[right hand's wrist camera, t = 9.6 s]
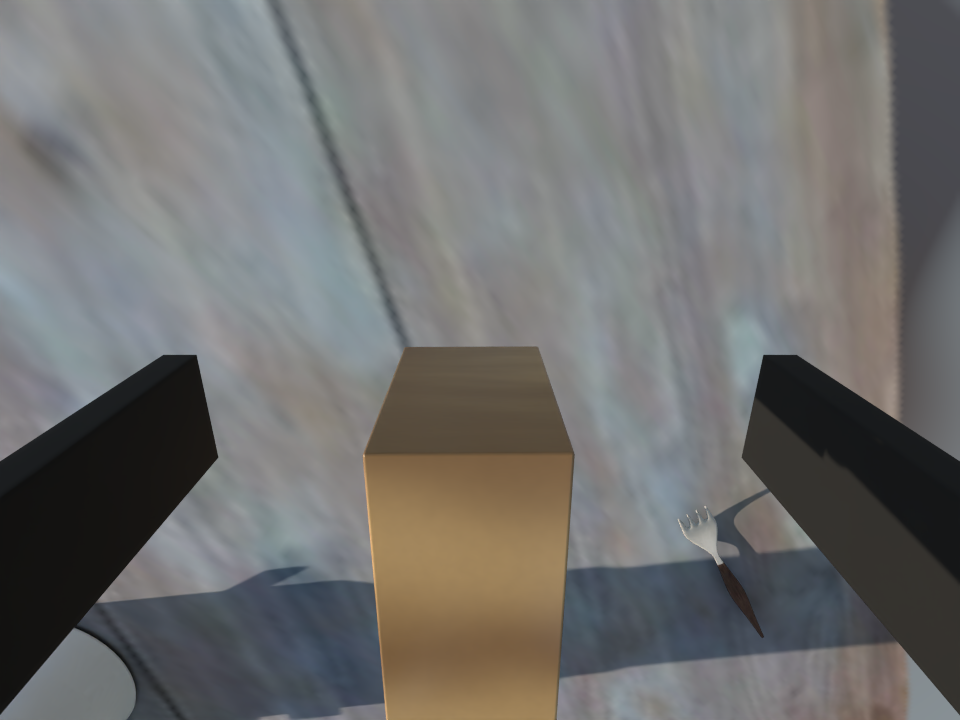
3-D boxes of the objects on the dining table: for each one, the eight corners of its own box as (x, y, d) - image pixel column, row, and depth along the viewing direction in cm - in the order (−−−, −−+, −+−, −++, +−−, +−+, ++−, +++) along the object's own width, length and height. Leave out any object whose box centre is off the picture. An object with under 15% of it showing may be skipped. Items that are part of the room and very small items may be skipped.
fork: (745, 638, 45) (756, 659, 43) (666, 504, 40) (675, 521, 39) (774, 626, 45) (787, 646, 43) (698, 489, 40) (708, 505, 38)
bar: (404, 346, 23) (361, 454, 14) (538, 345, 23) (575, 453, 14) (426, 753, 32) (408, 969, 23) (522, 753, 32) (540, 967, 23)
